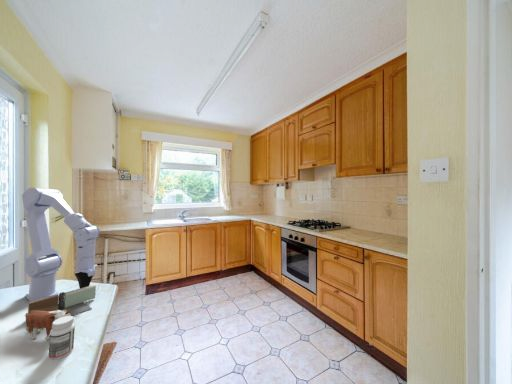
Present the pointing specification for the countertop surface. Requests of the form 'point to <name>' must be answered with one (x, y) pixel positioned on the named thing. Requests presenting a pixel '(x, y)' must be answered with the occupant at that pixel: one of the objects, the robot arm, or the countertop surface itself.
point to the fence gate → (79, 295)
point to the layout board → (76, 309)
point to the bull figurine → (42, 321)
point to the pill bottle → (61, 337)
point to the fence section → (48, 303)
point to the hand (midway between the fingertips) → (84, 290)
